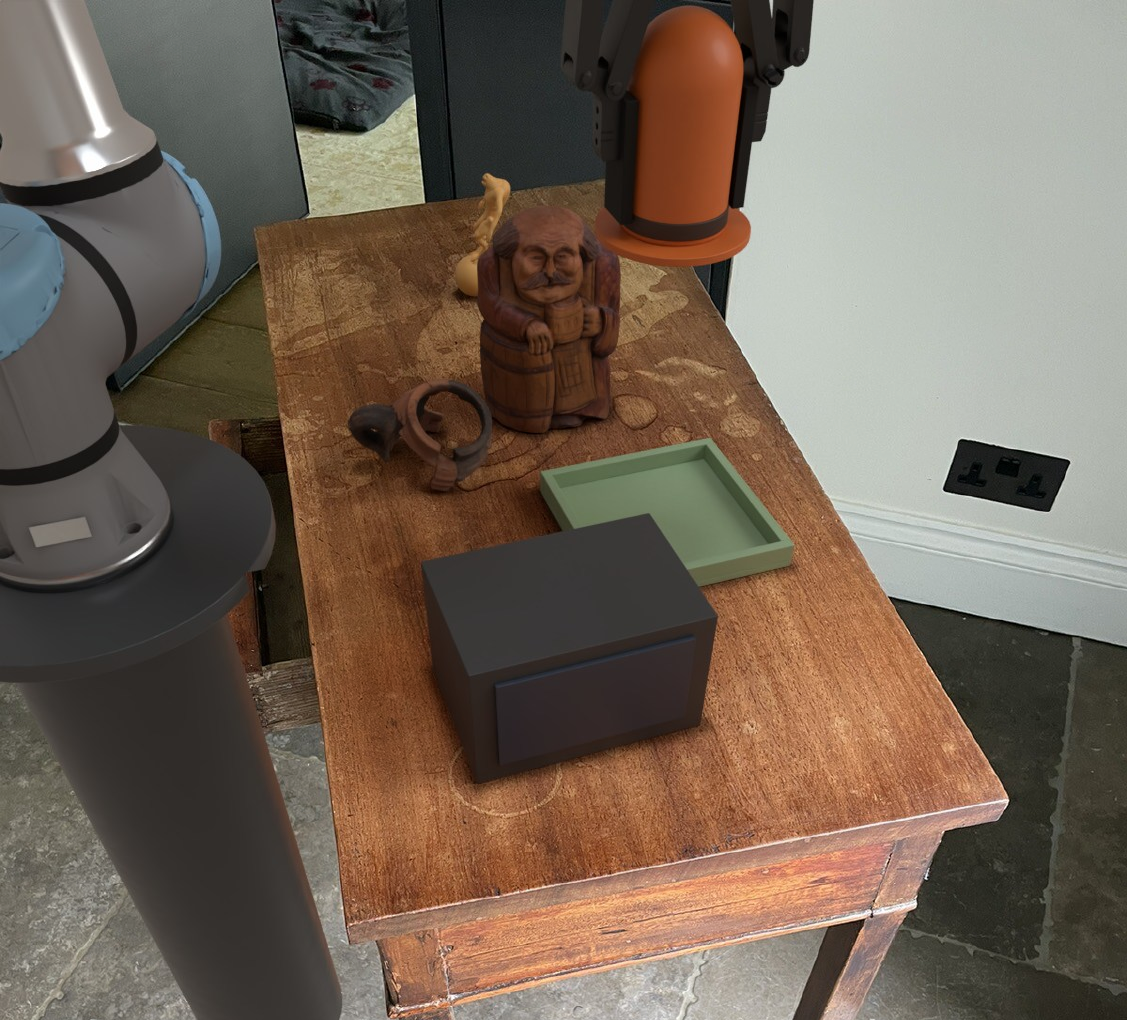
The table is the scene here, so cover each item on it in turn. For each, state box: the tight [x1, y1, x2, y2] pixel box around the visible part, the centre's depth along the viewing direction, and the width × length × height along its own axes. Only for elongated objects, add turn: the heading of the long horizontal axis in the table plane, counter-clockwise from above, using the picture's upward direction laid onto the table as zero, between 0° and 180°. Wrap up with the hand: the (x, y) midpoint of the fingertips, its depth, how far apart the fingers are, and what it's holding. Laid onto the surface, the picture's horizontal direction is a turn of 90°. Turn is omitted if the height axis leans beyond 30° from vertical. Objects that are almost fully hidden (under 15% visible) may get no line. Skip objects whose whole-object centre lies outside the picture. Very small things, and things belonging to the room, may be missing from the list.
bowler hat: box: [593, 5, 752, 268], centre depth 61 cm, size 10×10×12 cm
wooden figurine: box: [476, 204, 622, 434], centre depth 91 cm, size 12×6×18 cm, turn 105°
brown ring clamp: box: [347, 378, 493, 492], centre depth 91 cm, size 12×10×8 cm
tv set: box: [420, 513, 719, 785], centre depth 71 cm, size 11×16×10 cm
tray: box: [539, 437, 795, 588], centre depth 87 cm, size 16×16×2 cm
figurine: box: [454, 172, 511, 297], centre depth 109 cm, size 8×6×12 cm
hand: (673, 206), depth 65 cm, fingers closed on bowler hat, 7 cm apart
